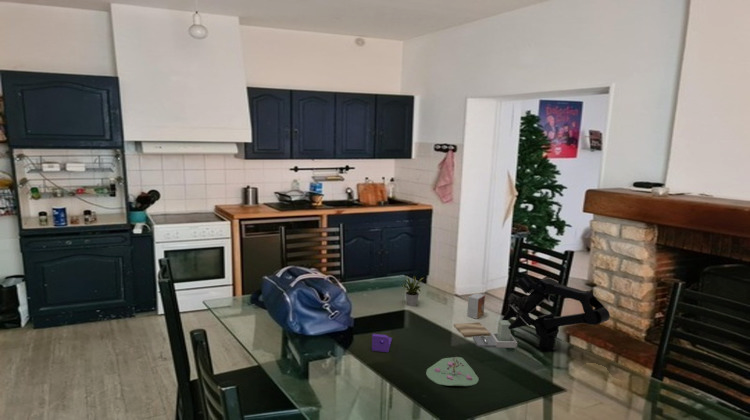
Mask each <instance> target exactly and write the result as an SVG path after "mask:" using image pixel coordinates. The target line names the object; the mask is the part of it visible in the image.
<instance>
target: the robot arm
mask: <svg viewBox="0 0 750 420" xmlns="http://www.w3.org/2000/svg"><path fill="white" fill-rule="evenodd" d="M516 285H517V286H518V287H519V288H520V289H521V291H522V292H523V293H524V294H528V295H527V296H523V297H522V296H519V295H516V294H514V293H512V292H511V293H510V294H509V296H508V298H507V300H508V304H507V311H506V313H505V314H504V316H503V318H502V319H501V320H508V321H509V320H510V319H513V318H515V317H516V318H515V320H514V321H512V322H511V323H510V324H511V325H510V326H509V327H508V328H509V329H511V330H513V329H517V328H521V327H528V326H532V325H533V326H534V329H535V333H536V334H535V335H537V336H538V343H535V347H537V348H538V349H539V350H540V351H542V352H554V351H557V349H556V348H555V347H554V345H555V344H554V343H555V335H558V334H559V332H560V331H559V329H558V327H564V326H565V327H566V326H571V325H580V324H586V325H591V326H592V325H593V326H595V325H600V324H602V323H605V322H609V320H610V312H609V310H608V309H607V308H605V306H604V304H603V303H602V302H601V301H600V300H598V298H596V297H595V295H593V293H592V292H590V291H589V290H588V291H587V290H582V289H578V288H576V287H575V288H574V287H570V286H567V285H564V284H561V283H559V282H558V281H557V280H554V279H552V278H550V277H547V278H544V279H539V280H537V281H536V282H535V280H534V279H532V278H531V276H530V275H529V274H525V275H523V276H522V277H521V278H520V279H518V280H517V282H516ZM551 295H558V296H561V297H564V298H568V299H571V300H574V301H578V302H580V304H581V306H582V310H583V312H580V313H573V314H567V315H561V316H555V315H554V312H551V313H549V314H547V313H545V314H542V315H539V316H537V318H535V319H534V320H533V318H531V315H530V313H531V312H533V311H537V307H538V306H539V305H540V304H541V303H543V302H544V301H545V300H546V302H548V303H550V301H551V299H550V298H551ZM592 307H593V308H594V309H593V308H592Z"/></svg>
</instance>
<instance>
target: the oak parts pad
mask: <svg viewBox="0 0 750 420" xmlns="http://www.w3.org/2000/svg"><path fill="white" fill-rule="evenodd" d="M453 327H454V328H455V329H456V330H457V331H458V332H459V333H460V334H461V335H462V336H463V337H464V338H473V336H479V337H481V335H484V337H490V333H491V332H490V330H488V329H487V328H486V327H485V326H484V325H482V323H481V322H466V323H465V322H464V323H463V322H462V323H453Z"/></svg>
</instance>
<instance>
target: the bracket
mask: <svg viewBox="0 0 750 420" xmlns="http://www.w3.org/2000/svg"><path fill="white" fill-rule="evenodd" d="M371 338H372V341H371V352H374V351H375V352H383V353H389V350H390V348H391V345H392V340H393V337H389V336H388V335H387V334H378V333H372V337H371Z"/></svg>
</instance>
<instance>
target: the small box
mask: <svg viewBox="0 0 750 420" xmlns="http://www.w3.org/2000/svg"><path fill="white" fill-rule="evenodd" d="M485 298H486V295H485V294H481V293H477V292H474V293H473V294H472V295H469V296H468V298H467V299H468V300H467V313H466V314H467V315H466V316H467V317H468V318H473V319H475V320H476V319H479V318H480V317H483V316H484V313H485V312H484V311H485V301H486V299H485Z"/></svg>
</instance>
